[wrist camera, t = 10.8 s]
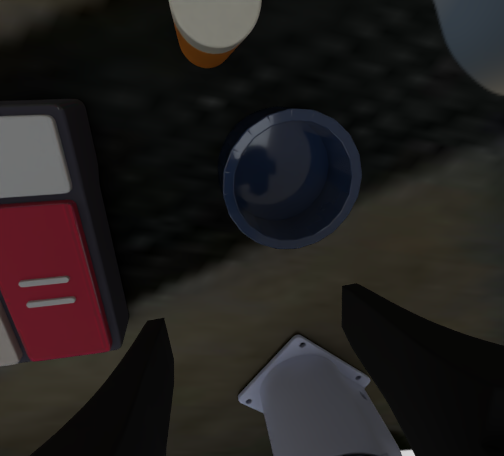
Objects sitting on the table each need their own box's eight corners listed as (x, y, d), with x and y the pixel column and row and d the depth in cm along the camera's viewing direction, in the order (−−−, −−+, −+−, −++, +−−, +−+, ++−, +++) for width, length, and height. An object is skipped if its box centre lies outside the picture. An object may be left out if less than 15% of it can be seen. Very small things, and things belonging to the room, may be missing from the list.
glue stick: (243, 35, 18) (280, -10, 11) (211, 79, 19) (223, 68, 11) (199, -8, 17) (206, -92, 10) (166, 41, 18) (147, -1, 10)
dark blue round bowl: (356, 159, 22) (388, 171, 19) (281, 245, 24) (298, 272, 20) (271, 78, 20) (289, 73, 16) (193, 180, 21) (193, 198, 17)
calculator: (-77, 386, 19) (-250, 114, 13) (-32, 334, 23) (-148, 105, 17) (121, 359, 21) (55, 104, 14) (132, 314, 24) (84, 98, 18)
